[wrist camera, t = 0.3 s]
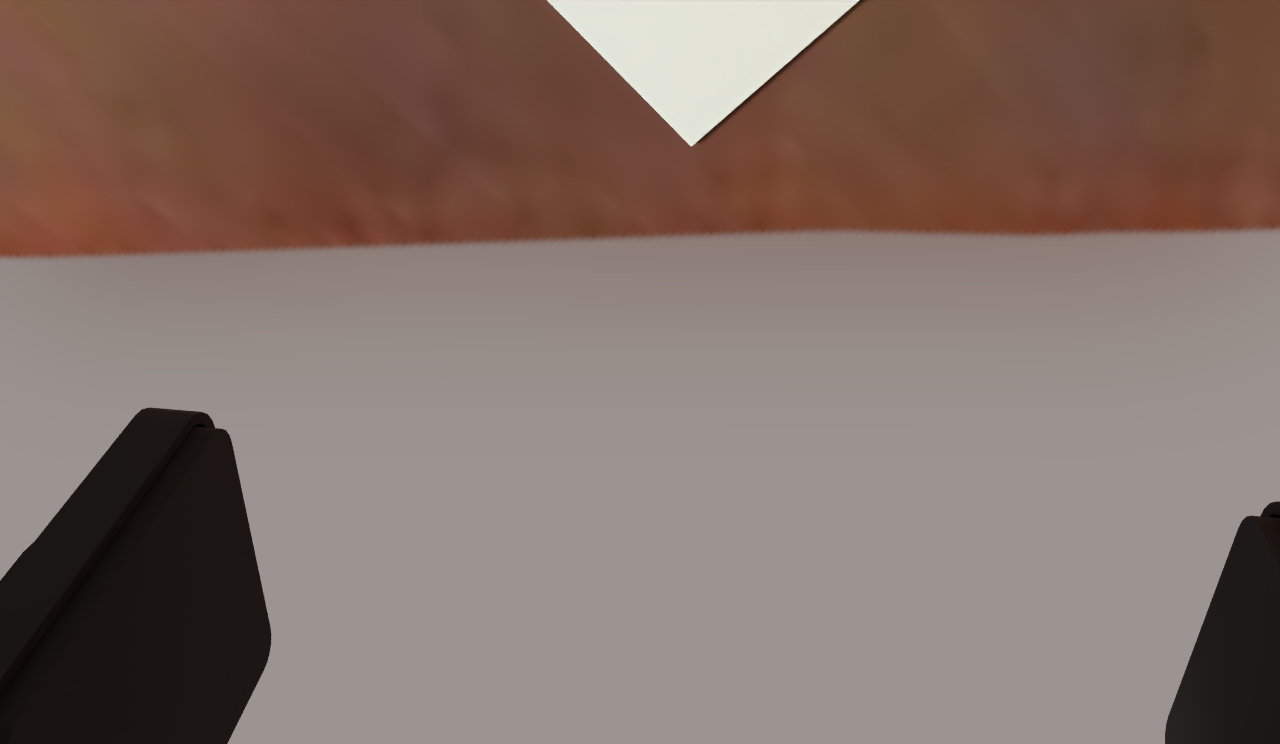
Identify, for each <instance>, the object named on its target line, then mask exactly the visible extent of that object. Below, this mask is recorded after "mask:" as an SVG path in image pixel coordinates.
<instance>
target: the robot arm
mask: <svg viewBox="0 0 1280 744" xmlns="http://www.w3.org/2000/svg"><path fill="white" fill-rule="evenodd" d="M270 646H271V629H270V623H269V618H268V613H267V609H266V604H265V599H264V594H263V590H262V585H261V580H260V575H259V570H258V566H257V561H256V556H255V551H254V546H253V542H252V537H251V532H250V528H249V523H248V518H247V513H246V508H245V504H244V499H243V494H242V490H241V484H240V479H239V475H238V470H237V465H236V460H235V455H234V451H233V446H232V442H231V438H230V436H229V434H228V433H227V431H226V430H223V429H217V428H215V427H214V424H213V421H212V419H211V418H210V417H209V415H208V414H206V413H202V412H195V411H182V410H171V409H159V408H146V409H142V410H141V411H140V412H139V413H138V414H137V415H135V417H134V418H133V419H132V420H131V421H130V423H129V424H128V425H127V427H126V428H125V429H124V430H123V431H122V433H121V434H120V435H119V437H118V438H117V439H116V440H115V441H114V443H113V444H112V445H111V447H110V448H109V449H108V450H107V451H106V453H105V454H104V455H103V456H102V458H101V459H100V460H99V462H98V463H97V464H96V465H95V467H94V468H93V469H92V470H91V472H90V473H89V474H88V475H87V477H86V478H85V479H84V480H83V482H82V483H81V484H80V485H79V487H78V488H77V489H76V490H75V492H74V493H73V494H72V495H71V497H70V498H69V499H68V500H67V502H66V503H65V504H64V505H63V507H62V508H61V509H60V511H59V512H58V513H57V514H56V515H55V517H54V518H53V519H52V520H51V522H50V523H49V524H48V525H47V527H46V528H45V529H44V531H43V532H42V533H41V534H40V536H39V537H38V538H37V539H36V540H35V542H34V543H33V544H31V545H30V546H29V547H28V548H27V549H26V550H25V551H24V552H23V553H22V555H21V556H20V557H19V558H18V559H17V561H16V562H15V563H14V564H13V566H12V567H11V568H10V569H9V571H8V572H7V573H6V574H5V576H4V577H3V578H2V579H1V581H0V744H227V743H228V741H229V739H230V737H231V735H232V733H233V731H234V729H235V727H236V725H237V723H238V721H239V719H240V717H241V715H242V713H243V711H244V709H245V707H246V705H247V703H248V701H249V699H250V697H251V695H252V693H253V691H254V689H255V687H256V685H257V683H258V681H259V679H260V677H261V675H262V673H263V671H264V668H265V666H266V663H267V660H268V657H269V653H270ZM1165 744H1280V502H1273V503H1270V504H1269V505H1268V506H1267V507H1266V508H1265V509H1264V510H1263V512H1262V514H1261V516H1260V517H1259V516H1248V517H1246V518H1245V519H1244V520H1243V521H1242V522H1241V524H1240V526H1239V528H1238V531H1237V534H1236V536H1235V539H1234V542H1233V544H1232V547H1231V550H1230V552H1229V555H1228V558H1227V560H1226V563H1225V566H1224V568H1223V571H1222V574H1221V577H1220V579H1219V582H1218V584H1217V587H1216V590H1215V593H1214V595H1213V598H1212V601H1211V603H1210V606H1209V609H1208V611H1207V614H1206V617H1205V620H1204V622H1203V625H1202V627H1201V630H1200V633H1199V636H1198V638H1197V641H1196V644H1195V646H1194V649H1193V652H1192V655H1191V657H1190V660H1189V662H1188V665H1187V668H1186V670H1185V673H1184V676H1183V678H1182V681H1181V684H1180V687H1179V689H1178V692H1177V695H1176V697H1175V700H1174V703H1173V705H1172V708H1171V711H1170V714H1169V716H1168V720H1167V724H1166V731H1165Z"/></svg>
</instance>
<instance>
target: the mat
mask: <svg viewBox="0 0 1280 744" xmlns="http://www.w3.org/2000/svg"><path fill="white" fill-rule="evenodd" d="M547 1H548V2H549V3H550V4H551V5H552V6H553V7H554V8H555V9H556V10H557V11H558V12H559V13H560V14H561V15H562V16H563V17H564V18H565V19H566V20H567V21H568V22H569V23H570V24H571V25H572V26H573V27H574V28H575V29H576V30H577V31H578V32H579V33H580V34H581V35H582V36H583V37H584V38H585V39H586V40H587V41H588V42H589V43H590V44H591V45H592V46H593V47H594V48H595V49H596V50H597V51H598V52H599V53H600V54H601V56H602V57H603V58H604V59H605V60H606V61H607V62H608V63H609V64H610V65H611V66H612V67H613V68H614V69H615V70H616V71H617V72H618V73H619V74H620V75H621V76H622V77H623V78H624V79H625V80H626V81H627V82H628V83H629V84H630V85H631V86H632V87H633V88H634V89H635V90H636V91H637V92H638V93H639V94H640V95H641V96H642V97H643V98H644V99H645V100H646V101H647V102H648V103H649V104H650V105H651V106H652V107H653V108H654V109H655V110H656V111H657V112H658V113H659V114H660V115H661V116H662V118H663V119H664V120H665V121H666V122H667V123H668V124H669V125H670V126H671V127H672V128H673V129H674V130H675V131H676V132H677V133H678V134H679V135H680V136H681V137H682V138H683V139H684V140H685V141H686V142H687V143H688V144H689V145H690V146H691V147H692V146H693V145H694V144H695V143H696V142H697V141H698V140H700V139H701V138H702V137H703V136H704V135H705V134H706V133H708V132H709V131H710V130H711V129H712V128H713V127H715V126H716V125H717V124H718V123H719V122H720V121H721V120H723V119H724V118H725V117H726V116H727V115H728V114H729V113H731V112H732V111H733V110H734V109H735V108H736V107H737V106H739V105H740V104H741V103H742V102H743V101H744V100H746V99H747V98H748V97H749V96H750V95H751V94H752V93H754V92H755V91H756V90H757V89H758V88H759V87H760V86H762V85H763V84H764V83H765V82H766V81H767V80H768V79H770V78H771V77H772V76H773V75H774V74H775V73H777V72H778V71H779V70H780V69H781V68H782V67H783V66H785V65H786V64H787V63H788V62H789V61H790V60H791V59H793V58H794V57H795V56H796V55H797V54H798V53H800V52H801V51H802V50H803V49H804V48H805V47H806V46H808V45H809V44H810V43H811V42H812V41H813V40H814V39H816V38H817V37H818V36H819V35H820V34H821V33H822V32H824V31H825V30H826V29H827V28H828V27H829V26H831V25H832V24H833V23H834V22H835V21H836V20H837V19H839V18H840V17H841V16H842V15H843V14H844V13H845V12H847V11H848V10H849V9H850V8H851V7H852V6H854V5H855V4H856V3H857V2H858V1H859V0H547Z"/></svg>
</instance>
